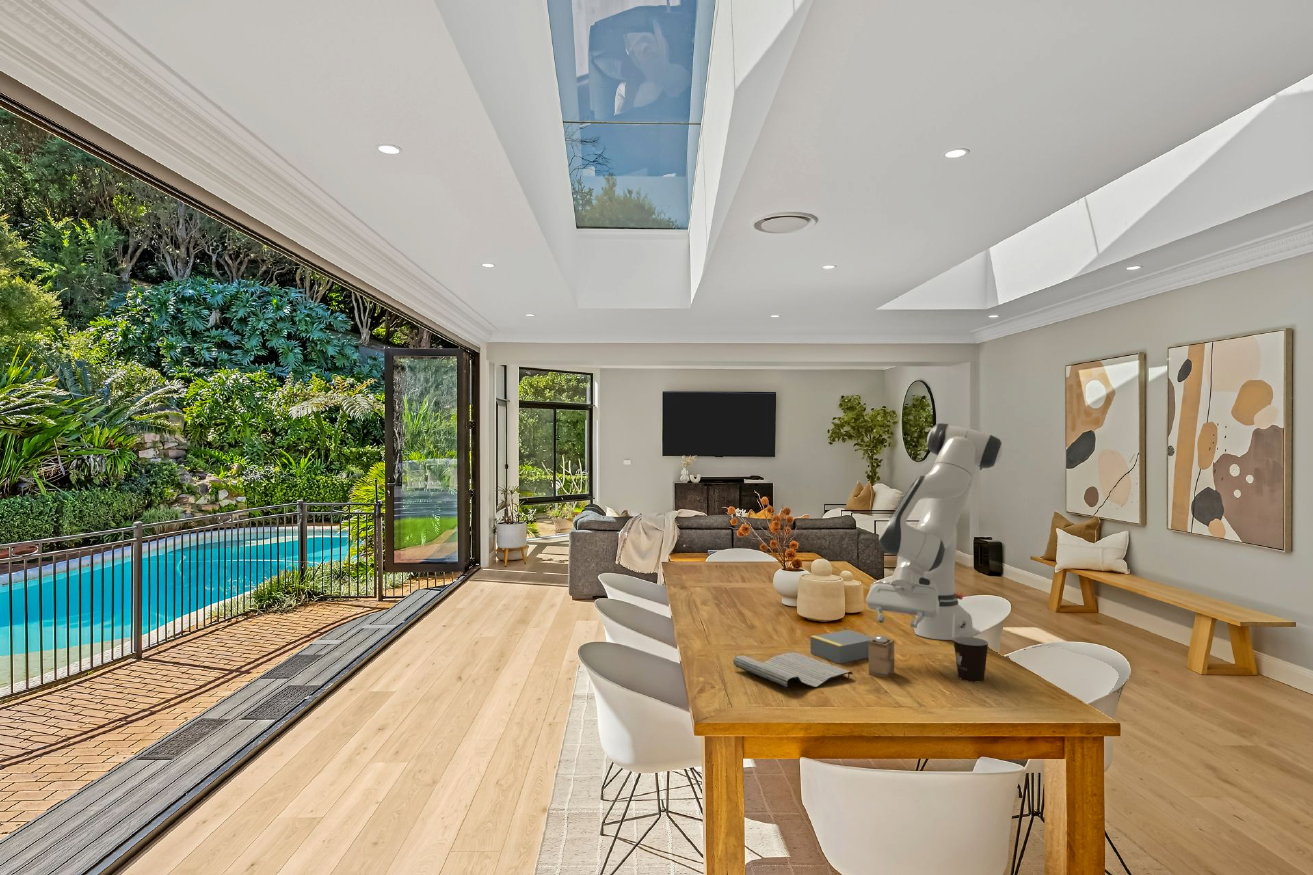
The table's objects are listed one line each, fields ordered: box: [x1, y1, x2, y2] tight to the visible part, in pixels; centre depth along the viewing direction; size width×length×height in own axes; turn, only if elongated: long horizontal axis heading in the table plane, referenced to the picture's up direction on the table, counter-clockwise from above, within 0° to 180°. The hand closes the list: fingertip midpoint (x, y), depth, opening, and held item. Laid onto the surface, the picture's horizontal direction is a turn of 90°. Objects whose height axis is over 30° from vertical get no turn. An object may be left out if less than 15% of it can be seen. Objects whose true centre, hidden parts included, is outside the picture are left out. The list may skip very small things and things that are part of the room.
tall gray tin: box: [868, 637, 895, 679], centre depth 188 cm, size 6×5×9 cm
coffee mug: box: [952, 636, 989, 683], centre depth 185 cm, size 12×9×10 cm
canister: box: [874, 635, 888, 644], centre depth 188 cm, size 3×3×2 cm
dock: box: [810, 629, 875, 665], centre depth 205 cm, size 16×12×5 cm
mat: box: [732, 651, 854, 693], centre depth 187 cm, size 23×24×5 cm
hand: (896, 624), depth 194 cm, fingers open, 8 cm apart
